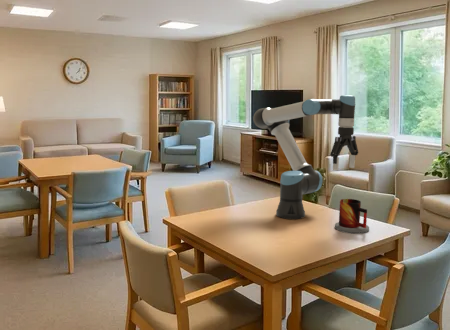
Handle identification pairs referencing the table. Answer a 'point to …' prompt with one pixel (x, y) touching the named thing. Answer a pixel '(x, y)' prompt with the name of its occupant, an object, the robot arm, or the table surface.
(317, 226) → the table surface
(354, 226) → the mug
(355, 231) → the plate
